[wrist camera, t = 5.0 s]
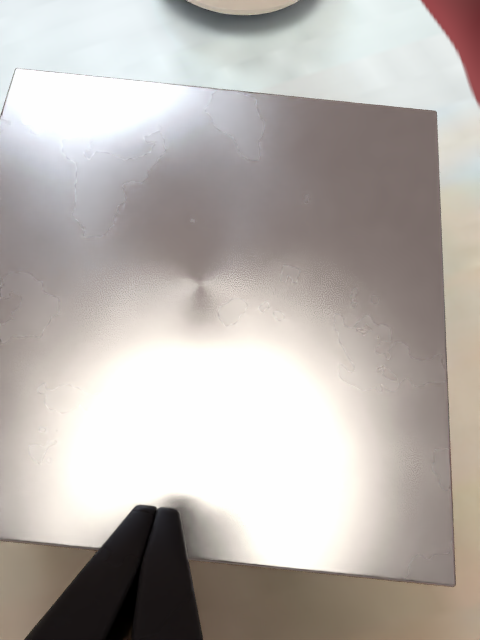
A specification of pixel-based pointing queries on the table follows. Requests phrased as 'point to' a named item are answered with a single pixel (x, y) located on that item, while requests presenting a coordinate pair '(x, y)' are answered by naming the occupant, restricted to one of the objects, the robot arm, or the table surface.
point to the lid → (224, 325)
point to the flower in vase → (243, 6)
